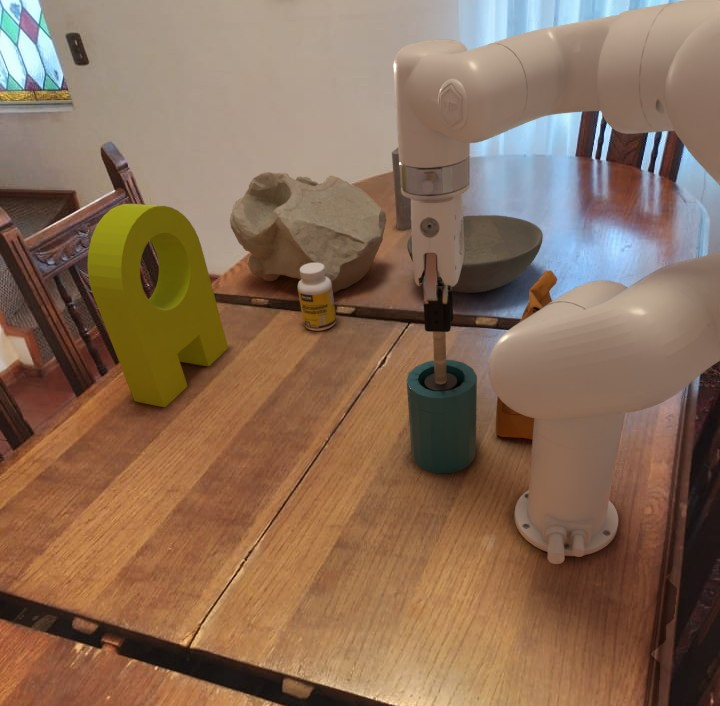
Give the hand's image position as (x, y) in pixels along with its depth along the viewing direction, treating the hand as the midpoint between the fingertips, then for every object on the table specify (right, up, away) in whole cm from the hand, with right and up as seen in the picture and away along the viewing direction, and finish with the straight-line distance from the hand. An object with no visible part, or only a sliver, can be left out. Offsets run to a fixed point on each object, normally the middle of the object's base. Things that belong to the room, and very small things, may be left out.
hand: (439, 324), depth 85 cm
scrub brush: (+1, -9, +8) cm, 12 cm away
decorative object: (-42, -1, +38) cm, 57 cm away
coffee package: (+16, -11, +17) cm, 26 cm away
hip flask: (+3, +45, +84) cm, 95 cm away
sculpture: (-19, +25, +65) cm, 72 cm away
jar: (+2, -16, +13) cm, 21 cm away
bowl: (+13, +20, +54) cm, 59 cm away
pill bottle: (-18, +10, +47) cm, 51 cm away
